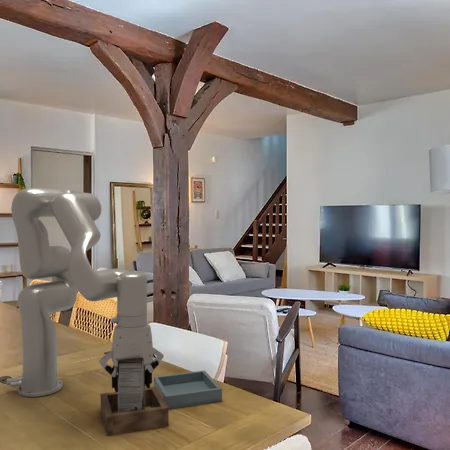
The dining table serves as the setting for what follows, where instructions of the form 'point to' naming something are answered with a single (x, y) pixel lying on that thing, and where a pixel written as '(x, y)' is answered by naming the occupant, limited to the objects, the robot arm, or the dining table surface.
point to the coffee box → (131, 384)
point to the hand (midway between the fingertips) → (132, 387)
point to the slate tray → (188, 389)
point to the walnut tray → (134, 413)
